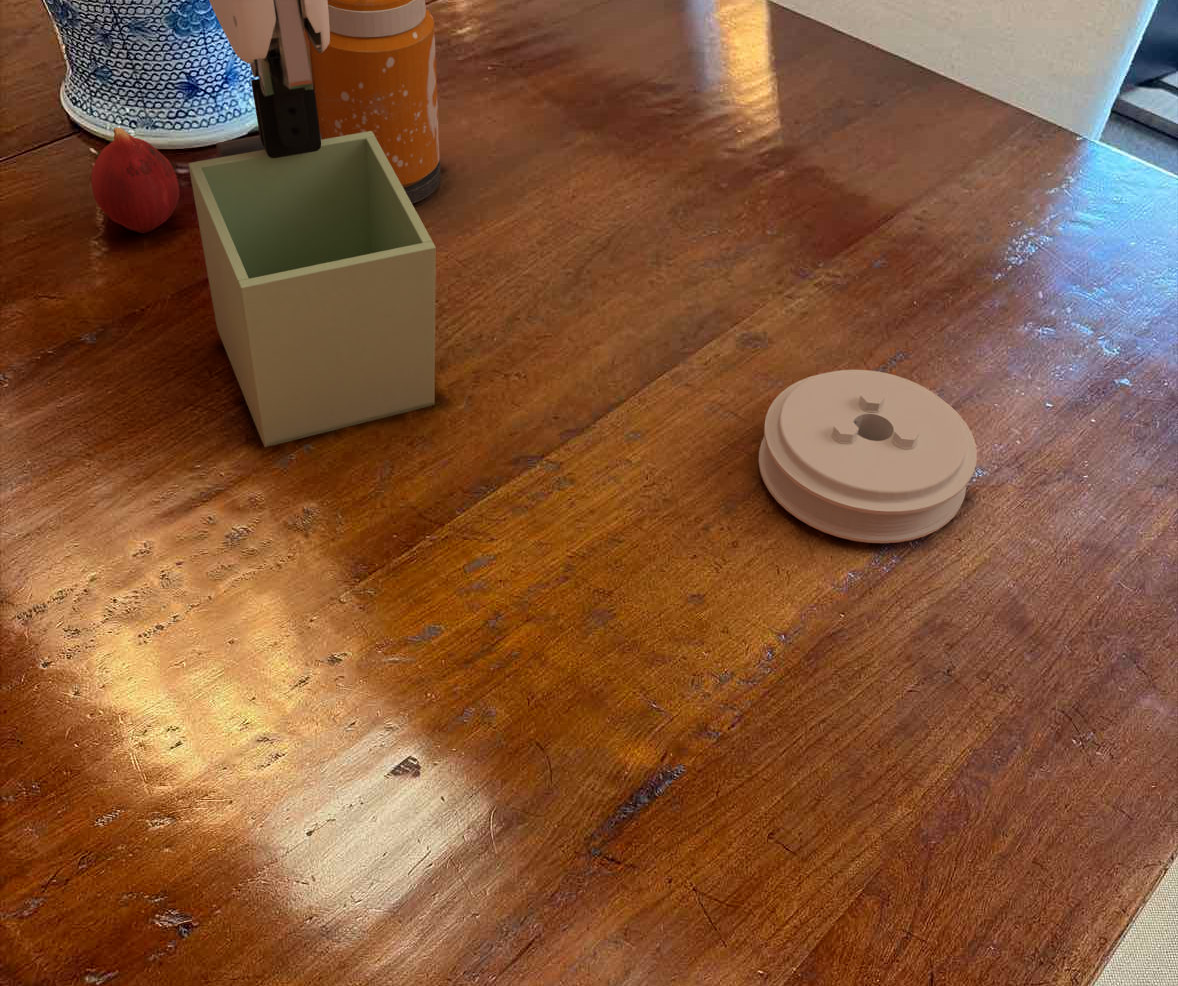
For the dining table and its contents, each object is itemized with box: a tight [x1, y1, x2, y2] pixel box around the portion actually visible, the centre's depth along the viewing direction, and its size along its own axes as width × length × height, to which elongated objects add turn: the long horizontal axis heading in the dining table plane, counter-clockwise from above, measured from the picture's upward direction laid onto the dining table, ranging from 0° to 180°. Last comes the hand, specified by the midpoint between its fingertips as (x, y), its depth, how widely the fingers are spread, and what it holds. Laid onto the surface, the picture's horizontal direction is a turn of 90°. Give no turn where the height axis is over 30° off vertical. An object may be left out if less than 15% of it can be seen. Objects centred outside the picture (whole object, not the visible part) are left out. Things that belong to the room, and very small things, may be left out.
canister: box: [309, 0, 442, 204], centre depth 93 cm, size 9×11×20 cm
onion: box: [91, 127, 180, 234], centre depth 92 cm, size 6×6×8 cm
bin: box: [188, 131, 437, 448], centre depth 80 cm, size 13×11×15 cm
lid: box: [758, 369, 978, 544], centre depth 79 cm, size 13×13×5 cm
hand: (291, 147), depth 76 cm, fingers closed
